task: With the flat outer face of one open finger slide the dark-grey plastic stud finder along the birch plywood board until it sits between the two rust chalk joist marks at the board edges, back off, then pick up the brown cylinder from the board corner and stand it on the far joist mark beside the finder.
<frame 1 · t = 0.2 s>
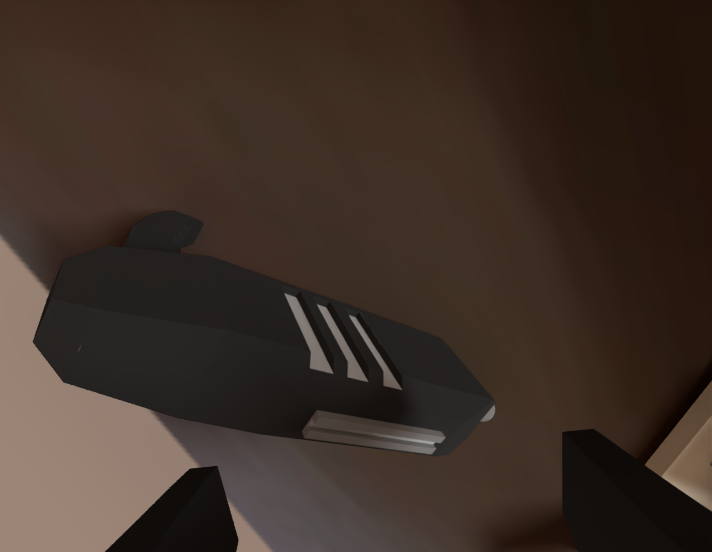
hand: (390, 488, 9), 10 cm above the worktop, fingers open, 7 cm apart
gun: (335, 310, 19), on the worktop
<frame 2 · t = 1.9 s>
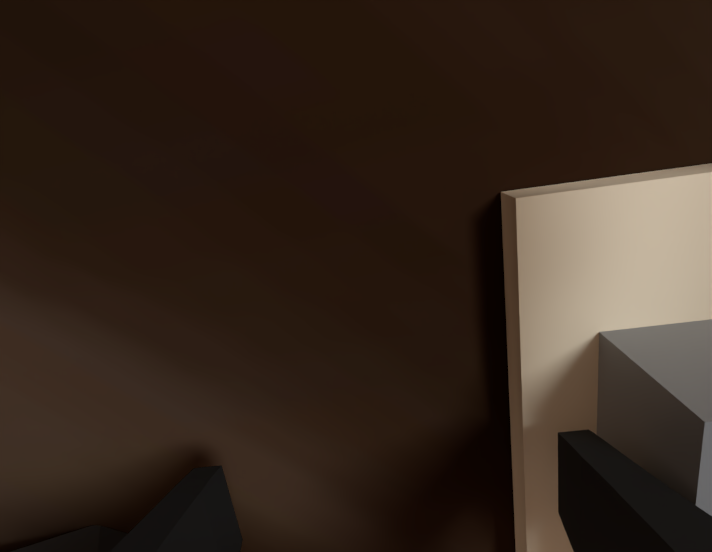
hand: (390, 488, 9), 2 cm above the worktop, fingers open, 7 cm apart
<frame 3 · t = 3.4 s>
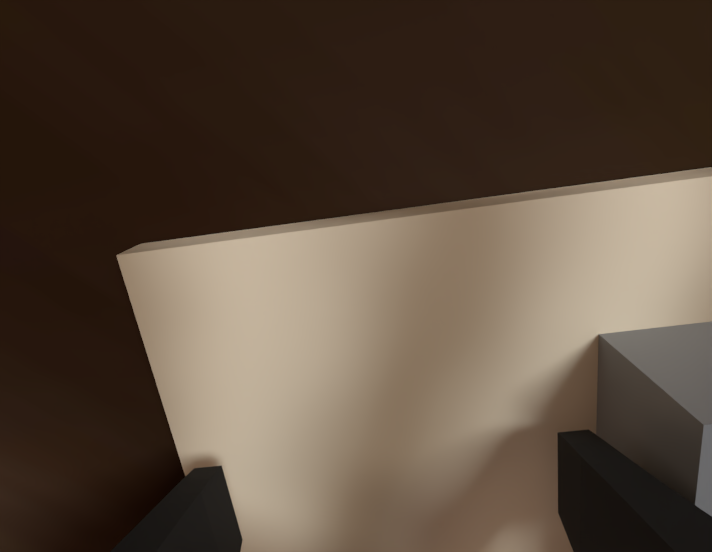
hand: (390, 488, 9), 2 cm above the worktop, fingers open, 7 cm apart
board: (673, 467, 11), on the worktop
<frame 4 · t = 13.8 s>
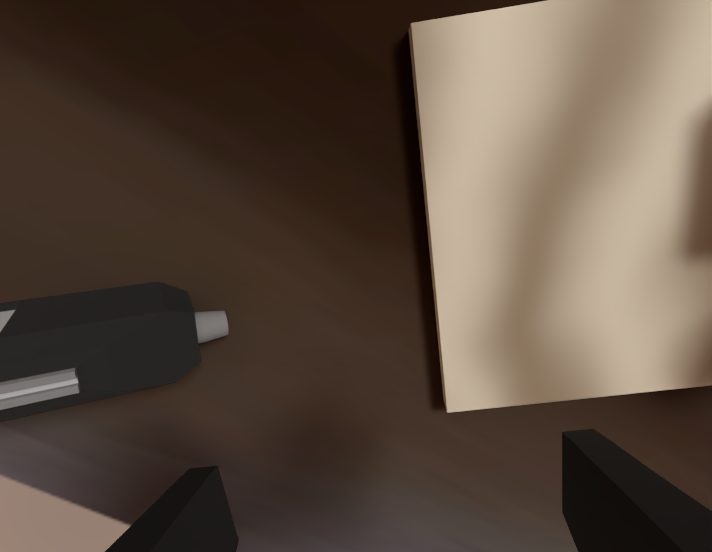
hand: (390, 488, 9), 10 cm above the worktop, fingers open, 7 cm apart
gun: (65, 310, 19), on the worktop
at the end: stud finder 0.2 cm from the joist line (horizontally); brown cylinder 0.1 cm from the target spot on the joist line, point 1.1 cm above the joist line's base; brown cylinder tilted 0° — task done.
